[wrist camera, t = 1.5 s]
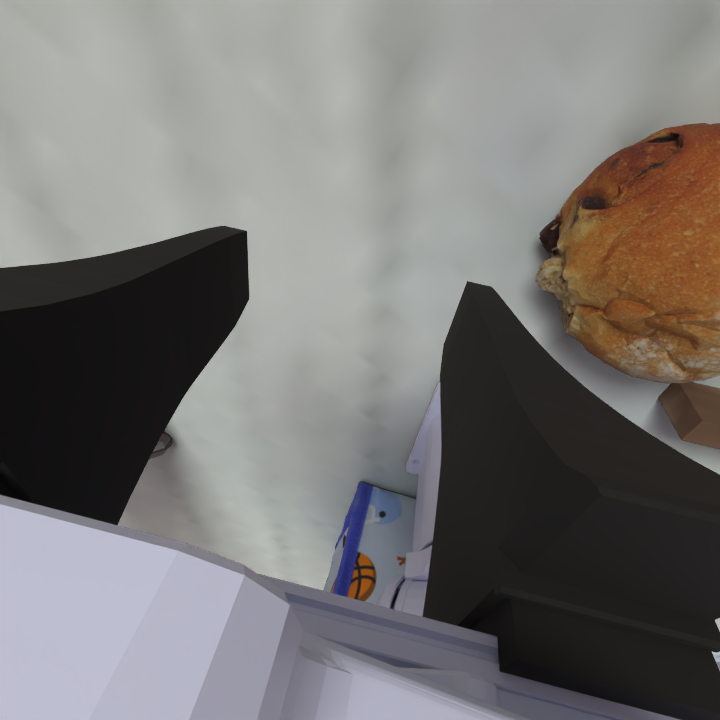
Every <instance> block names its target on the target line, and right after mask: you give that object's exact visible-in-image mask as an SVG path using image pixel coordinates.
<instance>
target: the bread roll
mask: <svg viewBox="0 0 720 720" xmlns="http://www.w3.org/2000/svg"><path fill="white" fill-rule="evenodd" d="M539 239H540V241H541V242H542V244H543V246H544V247H545V248H546V250H547V251H548V252H550V256H551V258H550V259H548V260H545V261H544V262H543V263H542V264H541V265H540V266H539V270H540V271H538V273H537V276H536V282H537V283H538V286H539V287H540V289H542V290H544V291H547V292H549V293H554V295H555V296H556V298H557V299H558V300H559V307H560V310H561V312H562V318H561V319H562V321H563V323H564V332H565V333H566V334H568V335H571V336H573V337H574V338H576V339H577V340H579V341H580V342H581V344H582V345H583V346H584V347H585V348H586V350H587V351H588V352H590V353H591V354H593V355H594V356H596V357H597V358H599V359H601V360H602V361H604V362H605V363H606V364H608V365H610V366H612V367H614V368H616V369H618V370H620V371H621V372H623V373H625V374H628V375H630V376H633V377H637V378H642V379H647V380H651V381H656V382H660V383H686V382H691V381H698V380H706V379H709V378H712V377H715V376H720V124H719V123H717V124H711V125H710V124H706V123H700V124H689V125H683V126H677V127H670V128H665V129H663V130H661V131H658V132H656V133H654V134H652V135H650V136H648V137H647V138H645V139H644V140H642V141H640V142H638V143H636V144H634V145H632V146H629V147H627V148H624V149H622V150H620V151H618V152H617V153H615V154H613V155H612V156H610V157H609V158H607V159H606V160H605V161H604V162H603V163H601V164H600V165H599V166H598V167H597V168H596V169H595V170H594V171H593V172H592V173H591V174H590V175H589V176H588V177H587V178H586V180H585V181H584V182H583V183H582V184H581V185H580V186H579V187H577V188H576V189H575V190H574V191H573V193H572V194H571V196H570V197H569V198H568V200H567V201H566V203H565V204H564V206H563V207H562V210H561V212H560V214H557V217H556V219H555V220H553V221H552V222H551V223H549V224H548V225H547V226H546V227H545V228H544V229H543V230H542V231H541V232H540V238H539ZM580 303H581V304H580ZM582 304H583V305H582ZM584 305H585V306H584Z"/></svg>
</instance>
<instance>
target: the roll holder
mask: <svg viewBox="0 0 720 720" xmlns="http://www.w3.org/2000/svg"><path fill="white" fill-rule="evenodd" d="M659 400H660V402H661V404H662V406H663V407H664V409H665V411H666V413H667V415H668V417H669V418H670V420H671V422H672V424H673V426H674V428H675V429H676V431H677V433H678V435H679V437H680V439H681V440H683V441H687V442H691V443H696V444H700V445H704V446H708V447H712V448H717V449H720V389H719V388H714V387H710V386H706V385H702V384H697V383H693V382H686V383H672V384H671V385H670V386H669V387H668V388H667V389H666V390H665V391H664V392H663V393H662V395H661V396H660V397H659Z"/></svg>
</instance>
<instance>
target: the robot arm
mask: <svg viewBox="0 0 720 720" xmlns="http://www.w3.org/2000/svg"><path fill="white" fill-rule="evenodd" d="M248 300H249V280H248V250H247V231H244V230H240V229H235V228H231V227H227V226H220V227H213V228H209V229H204V230H200V231H197V232H193V233H189V234H186V235H182V236H178V237H175V238H171V239H168V240H164V241H160V242H157V243H153V244H149V245H145V246H141V247H137V248H133V249H128V250H124V251H120V252H116V253H112V254H107V255H102V256H96V257H91V258H85V259H78V260H72V261H66V262H58V263H50V264H39V265H29V266H18V267H8V268H0V720H720V671H719V669H718V666H717V664H716V661H715V659H714V657H713V654H712V652H711V651H713V652H719V651H720V632H719V629H718V627H717V625H716V622H715V619H717V618H720V475H719V474H717V473H715V472H714V471H712V470H710V469H708V468H706V467H704V466H703V465H701V464H699V463H697V462H695V461H693V460H692V459H690V458H688V457H686V456H685V455H683V454H681V453H680V452H678V451H676V450H675V449H673V448H671V447H670V446H668V445H667V444H665V443H663V442H662V441H660V440H659V439H657V438H655V437H654V436H652V435H651V434H649V433H647V432H646V431H644V430H643V429H641V428H640V427H638V426H637V425H635V424H634V423H632V422H631V421H630V420H628V419H627V418H625V417H624V416H622V415H621V414H620V413H618V412H617V411H616V410H614V409H613V408H612V407H610V406H609V405H607V404H606V403H605V402H603V401H602V400H601V399H599V398H598V397H597V396H596V395H594V394H593V393H592V392H590V391H589V390H588V389H587V388H586V387H584V386H583V385H582V384H581V383H580V382H579V381H577V380H576V379H575V378H574V377H573V376H572V375H571V374H569V373H568V372H567V371H566V370H565V369H564V368H563V367H562V366H561V365H560V364H559V363H557V362H556V361H555V360H554V359H553V358H552V357H551V356H550V354H549V353H548V352H547V351H546V350H545V349H544V348H543V347H542V346H541V345H540V344H539V343H538V342H537V341H536V340H535V338H534V337H533V336H532V335H531V334H530V333H529V332H528V330H527V329H526V328H525V327H524V326H523V325H522V323H521V322H520V321H519V320H518V318H517V317H516V316H515V315H514V313H513V312H512V311H511V310H510V308H509V307H508V306H507V305H506V303H505V302H504V301H503V300H502V298H501V297H500V296H499V295H498V293H497V292H496V291H495V290H494V289H493V288H492V287H490V286H486V285H481V284H477V283H472V282H468V281H467V284H466V286H465V289H464V292H463V294H462V297H461V300H460V302H459V305H458V308H457V310H456V313H455V316H454V319H453V321H452V324H451V327H450V329H449V332H448V335H447V337H446V340H445V343H444V347H443V355H442V363H441V372H440V381H439V382H438V384H437V386H436V389H435V392H434V394H433V397H432V399H431V402H430V404H429V407H428V409H427V412H426V415H425V417H424V420H423V422H422V425H421V427H420V430H419V432H418V435H417V438H416V440H415V443H414V445H413V448H412V450H411V453H410V455H409V458H408V461H407V463H406V469H405V470H406V471H407V472H408V473H410V474H414V475H418V485H417V497H416V509H415V521H414V532H413V552H409V553H407V554H406V565H405V574H398V575H395V576H393V577H392V578H391V579H390V580H389V581H388V583H387V584H386V586H385V588H384V590H383V591H382V593H381V594H380V596H379V598H378V600H377V603H376V605H375V604H371V603H368V602H364V601H360V600H356V599H352V598H349V597H345V596H341V595H337V594H333V593H330V592H326V591H322V590H318V589H314V588H311V587H307V586H303V585H299V584H295V583H291V582H288V581H284V580H280V579H276V578H272V577H269V576H265V575H261V574H257V573H255V572H254V571H252V570H251V569H249V568H248V567H246V566H245V565H243V564H240V563H237V562H235V561H232V560H229V559H227V558H224V557H221V556H219V555H216V554H213V553H211V552H208V551H205V550H203V549H200V548H197V547H195V546H192V545H189V544H186V543H182V542H179V541H175V540H171V539H167V538H163V537H160V536H156V535H152V534H148V533H144V532H140V531H137V530H133V529H129V528H125V527H121V526H117V525H118V522H119V520H120V518H121V516H122V514H123V511H124V509H125V507H126V505H127V503H128V500H129V498H130V496H131V494H132V492H133V490H134V488H135V486H136V484H137V482H138V480H139V478H140V476H141V474H142V472H143V470H144V468H145V466H146V464H147V462H148V460H149V458H150V456H151V454H152V452H153V450H154V448H155V447H156V445H157V443H158V441H159V439H160V437H161V435H162V434H163V432H164V430H165V428H166V426H167V424H168V423H169V421H170V419H171V417H172V416H173V414H174V412H175V410H176V409H177V407H178V405H179V404H180V402H181V400H182V398H183V397H184V395H185V394H186V392H187V391H188V389H189V388H190V386H191V385H192V383H193V382H194V381H195V379H196V378H197V377H198V375H199V374H200V373H201V371H202V370H203V369H204V367H205V366H206V365H207V363H208V362H209V361H210V359H211V358H212V357H213V355H214V354H215V353H216V351H217V350H218V349H219V347H220V346H221V345H222V343H223V342H224V341H225V339H226V338H227V337H228V335H229V334H230V332H231V331H232V330H233V328H234V327H235V325H236V323H237V321H238V320H239V318H240V316H241V314H242V312H243V310H244V308H245V306H246V304H247V302H248Z"/></svg>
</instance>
